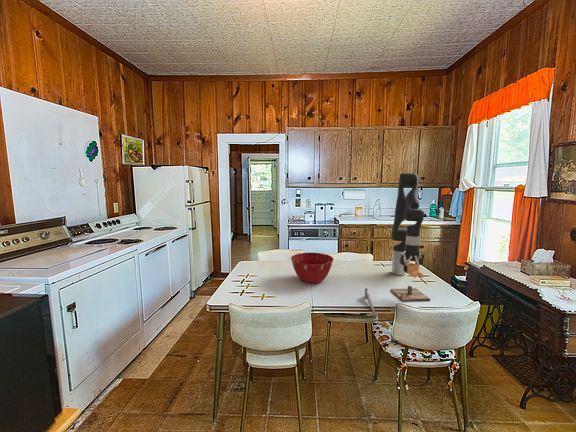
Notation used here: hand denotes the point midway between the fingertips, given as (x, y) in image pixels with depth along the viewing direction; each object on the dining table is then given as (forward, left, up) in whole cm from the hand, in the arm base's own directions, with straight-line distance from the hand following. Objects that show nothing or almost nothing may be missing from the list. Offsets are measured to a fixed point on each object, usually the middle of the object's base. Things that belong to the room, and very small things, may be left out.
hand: (410, 271), depth 173 cm
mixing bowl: (-31, -53, -15) cm, 63 cm away
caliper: (+10, -28, -15) cm, 33 cm away
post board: (0, 0, -14) cm, 14 cm away
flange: (+3, 0, -1) cm, 3 cm away
